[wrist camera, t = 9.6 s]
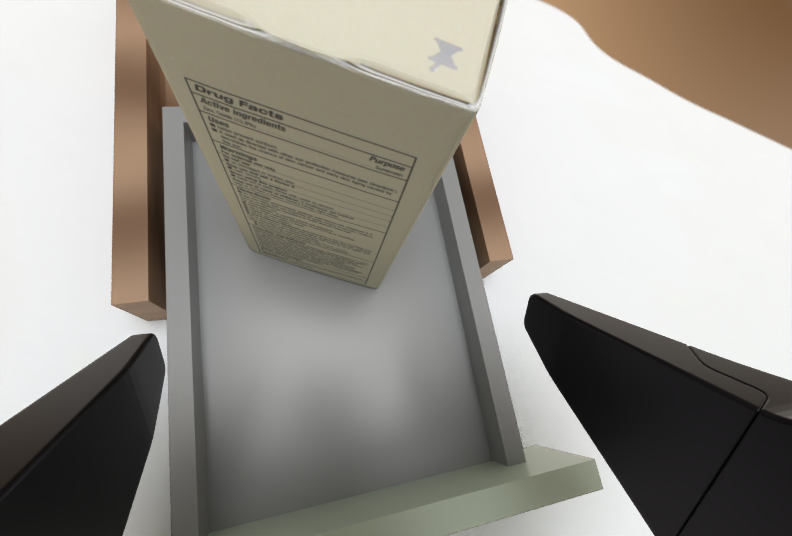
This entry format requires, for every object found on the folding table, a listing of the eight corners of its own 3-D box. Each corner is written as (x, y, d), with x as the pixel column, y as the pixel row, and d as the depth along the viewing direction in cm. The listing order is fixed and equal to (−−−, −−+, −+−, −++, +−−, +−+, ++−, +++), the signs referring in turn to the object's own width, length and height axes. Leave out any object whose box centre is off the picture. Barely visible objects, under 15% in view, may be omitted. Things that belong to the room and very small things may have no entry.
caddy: (482, 278, 22) (513, 258, 18) (148, 321, 17) (111, 304, 14) (417, 7, 27) (432, -47, 23) (145, -9, 22) (117, -77, 19)
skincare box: (402, 212, 19) (536, -46, 8) (378, 293, 18) (500, 120, 6) (275, 167, 19) (222, -186, 7) (238, 248, 17) (99, -36, 6)
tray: (541, 468, 18) (603, 488, 14) (136, 577, 14) (72, 646, 10) (457, 131, 23) (487, 79, 19) (135, 138, 18) (92, 74, 15)
